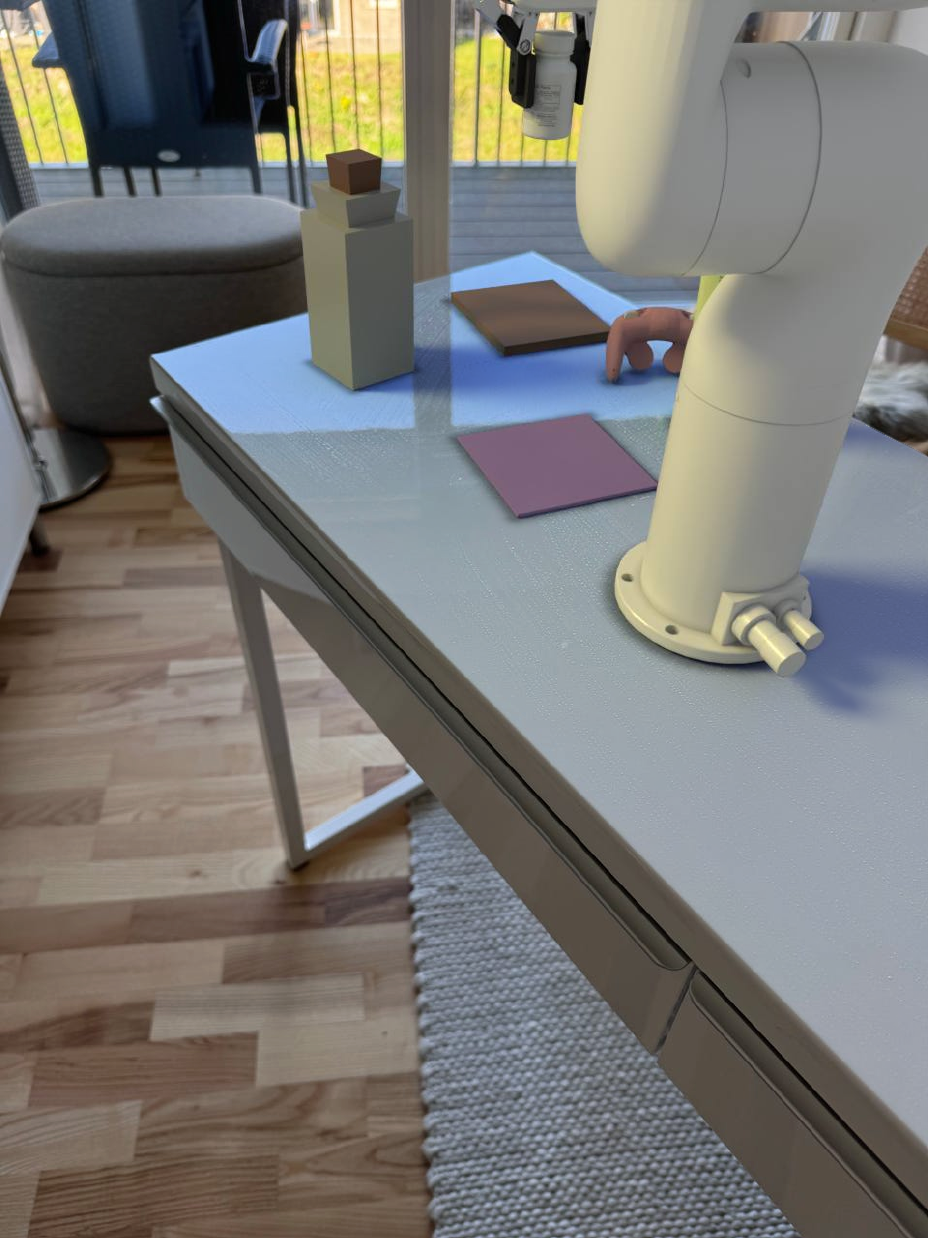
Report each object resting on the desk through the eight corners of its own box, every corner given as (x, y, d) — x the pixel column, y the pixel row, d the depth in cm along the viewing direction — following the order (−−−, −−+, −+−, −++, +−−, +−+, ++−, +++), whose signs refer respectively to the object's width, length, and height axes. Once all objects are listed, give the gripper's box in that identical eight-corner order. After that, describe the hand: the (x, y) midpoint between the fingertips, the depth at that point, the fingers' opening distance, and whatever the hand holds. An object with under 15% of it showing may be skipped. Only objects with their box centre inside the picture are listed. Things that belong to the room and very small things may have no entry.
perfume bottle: (353, 390, 81) (341, 172, 70) (312, 362, 85) (294, 152, 73) (414, 370, 85) (412, 159, 73) (372, 344, 89) (364, 140, 77)
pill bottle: (546, 125, 84) (554, 25, 79) (580, 136, 81) (591, 34, 76) (511, 132, 82) (517, 30, 77) (545, 143, 79) (554, 39, 74)
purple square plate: (658, 488, 71) (659, 484, 71) (517, 517, 67) (517, 514, 67) (586, 416, 79) (586, 413, 79) (457, 439, 76) (457, 436, 75)
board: (614, 339, 91) (615, 330, 91) (504, 356, 88) (504, 346, 87) (552, 288, 101) (552, 279, 100) (450, 301, 97) (450, 291, 97)
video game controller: (705, 389, 87) (715, 311, 85) (714, 389, 83) (725, 307, 81) (600, 381, 87) (608, 304, 86) (604, 381, 83) (612, 300, 81)
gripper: (486, -177, 63) (475, 119, 75) (696, -169, 68) (654, 107, 80) (447, -180, 68) (442, 98, 80) (644, -172, 73) (612, 88, 85)
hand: (548, 100), depth 80 cm, fingers closed on pill bottle, 4 cm apart
